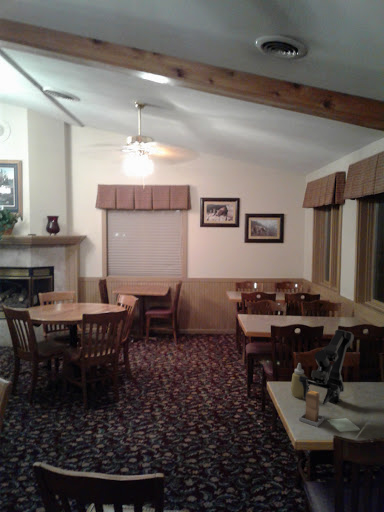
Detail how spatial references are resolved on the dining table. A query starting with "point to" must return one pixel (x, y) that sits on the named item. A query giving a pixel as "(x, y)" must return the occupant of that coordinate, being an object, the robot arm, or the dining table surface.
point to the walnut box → (312, 406)
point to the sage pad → (343, 425)
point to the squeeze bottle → (297, 383)
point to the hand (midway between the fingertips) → (313, 401)
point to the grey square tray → (320, 420)
